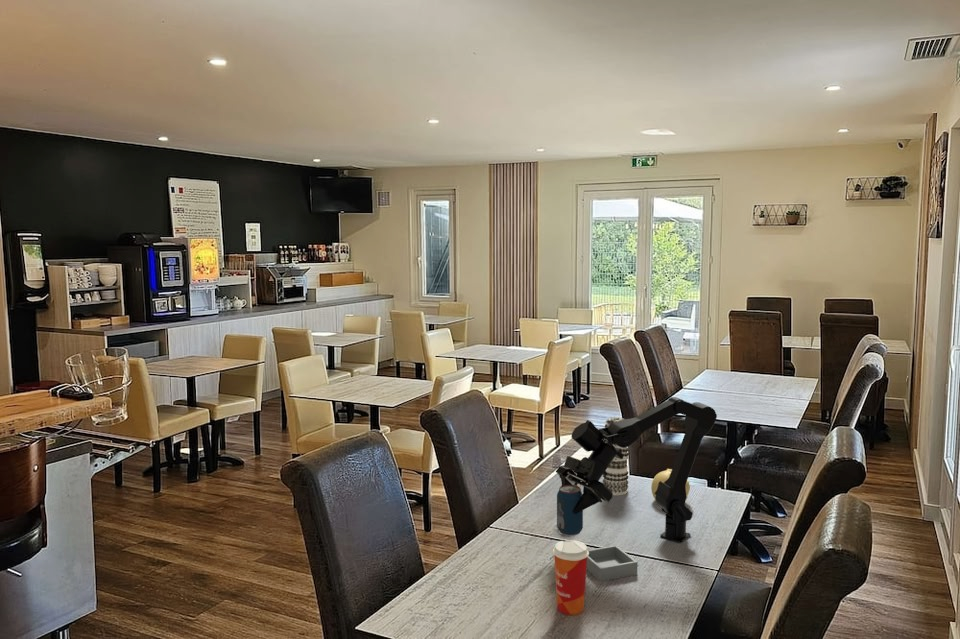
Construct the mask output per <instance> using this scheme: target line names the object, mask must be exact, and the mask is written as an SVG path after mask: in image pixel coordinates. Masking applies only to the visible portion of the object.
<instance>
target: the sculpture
mask: <svg viewBox="0 0 960 639" xmlns="http://www.w3.org/2000/svg"><path fill="white" fill-rule="evenodd" d="M671 471H672V468H666V470H663V471H660V472H658V473H657V474H656V475H655V476H654V478H653V479H652V482H651V493H652V494H651V495H652V497H653V498H654V499H655V497H656V495H655V494H654V493H655V492H656V490H657V488H658V484H659V482H660V481H661V482H663V483H664V482H665V481H666V480H667V479H668V478H669V476H670V474H671ZM690 488H691V485H690V481H689V480H688V479H687V482H686V500H687V499H688V497H689V496H688V495H689V492H690Z"/></svg>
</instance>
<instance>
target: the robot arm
mask: <svg viewBox="0 0 960 639" xmlns="http://www.w3.org/2000/svg"><path fill="white" fill-rule="evenodd" d="M679 414H681V415H683V416H685V417H684V425H685V433H684V435H683V439H682V440H681V443H680V446H679V450H678V452H677V455H676V457H675V459H674V463H673V466H672V468H671V469H672V471H671V474H670V476H669V478H668V479H667V480H666V481H665V482H664V483H663V482H661V481H660V482H659V484H658V488H657V490H656V492H655V493H654V494H655V495H656V497H655V498H654V500H655V502H656V505H658V506H659V507H660V510H661V512H663V513H664V514H665V518H664V519H665V522H664V523H665V524H664V526H665V527H664V531H663V532H662V533H660V534H659V536H660V538H664V539H667V540H671V541H674V542H678V543H682V542H684V541H686V540H687V539H688V538H689V537H691V533H689V532H687V531H686V530H687V521H691V519H692V518H693V515H694V513H693V512H692V511H691V510H690V509H689V508H688V507H687V506H686V501H687V499H686V482H687V480H688V479H689V475H690V474H691V471H692V468H693V465H694V464H695V460H696V457H697V454H698V452H699V449H700V446H701V444H702V441H703V438H704V437H705V436H706V435H707V434H708V433H710V431H711V430H712V429H713V426H714V425H715V423H716V421H717V417H718V414H717V411H716V410H715V409H714V408H713V407H711V406H709V405H707V404H704V403H701V402H700V401H698V402H697V401H695V402H693V403H691V402H689V401H685V400H683V399H682V398H679V397H677V396H671V397H669V398H668V399H667V400H666V401H663V402H662V403H659V404H658V405H656V406H654V407H653V408H650V409H648V410H646V411H645V412H643V413H641V414H639V415H637V416H635V417H631V418H627V419H626V418H624V420H620V421H617V422H614V423H612V424H610V425H609V426H608V427H605V426H604V427H602V428H598V427H597V426H596V425H595V424H594V423H593V421H591V420H589V419H586V421H585V422H582V423H581V424H578V426H576V427H575V428H574V429H573V431H572V433H571V439H572V440H573V441H575V443H576V444H578V445H579V446H580V447H581V448H582V449H583V450H584V451H585V452H589V453H590V452H591V454H589V456H588V457H586V456H585V457H583V458H581V459H578V458H575V457H573V456H571V455H567V456H566V459H565V462H564V465H559V466H558V467H557V469H556V470H555V473H556V474H557V475H559V476H558V477H559V478H560V481H561V486H564V485H577V484H580V485H581V487H582V489H583V490H582V494H583V495H582V496H581V498H580V500H579V501H578V503H577V505H576V506H575V508H574V510H573V513H574V514H577V513H579V512H581V511H583V512H584V510H586V509H587V508H590V507H593V505H596V504H598V503H602V502H603V501H605V502H606V503H610V502H611V500H612V499H613V496H614V495H613V492H612V491H611V490H610V489H609V488H608V487H607V486H606V485H605V484H604V483H603V481H602V482H601V481H600V480H601V478H602V477H603V475H604V476H606V475H607V474H608V473H607V472H606V469H607V468H608V466H609V465H610V463H611V462H612V460H613V459H614V457H616V458H619V459H623V454H622V449H620V448H615V447H614V446H613V445H612V444H616V445H618V446H619V447H623V448H626V447H627V448H629V447H630V446H631V445H632V444H634V443H635V442H637V441H638V440H639V438H640V437H641V435H643V434H644V433H645V432H647V431H648V430H651V429H652V428H654V427H656V426H658V425H660V424H662V423H663V422H666V421H667V420H670V419H672V418H674V417H675V416H677V415H679ZM603 439H605V440H606V441H608V442H610V443H606V442H605V441H604V440H603ZM611 443H612V444H611Z"/></svg>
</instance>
